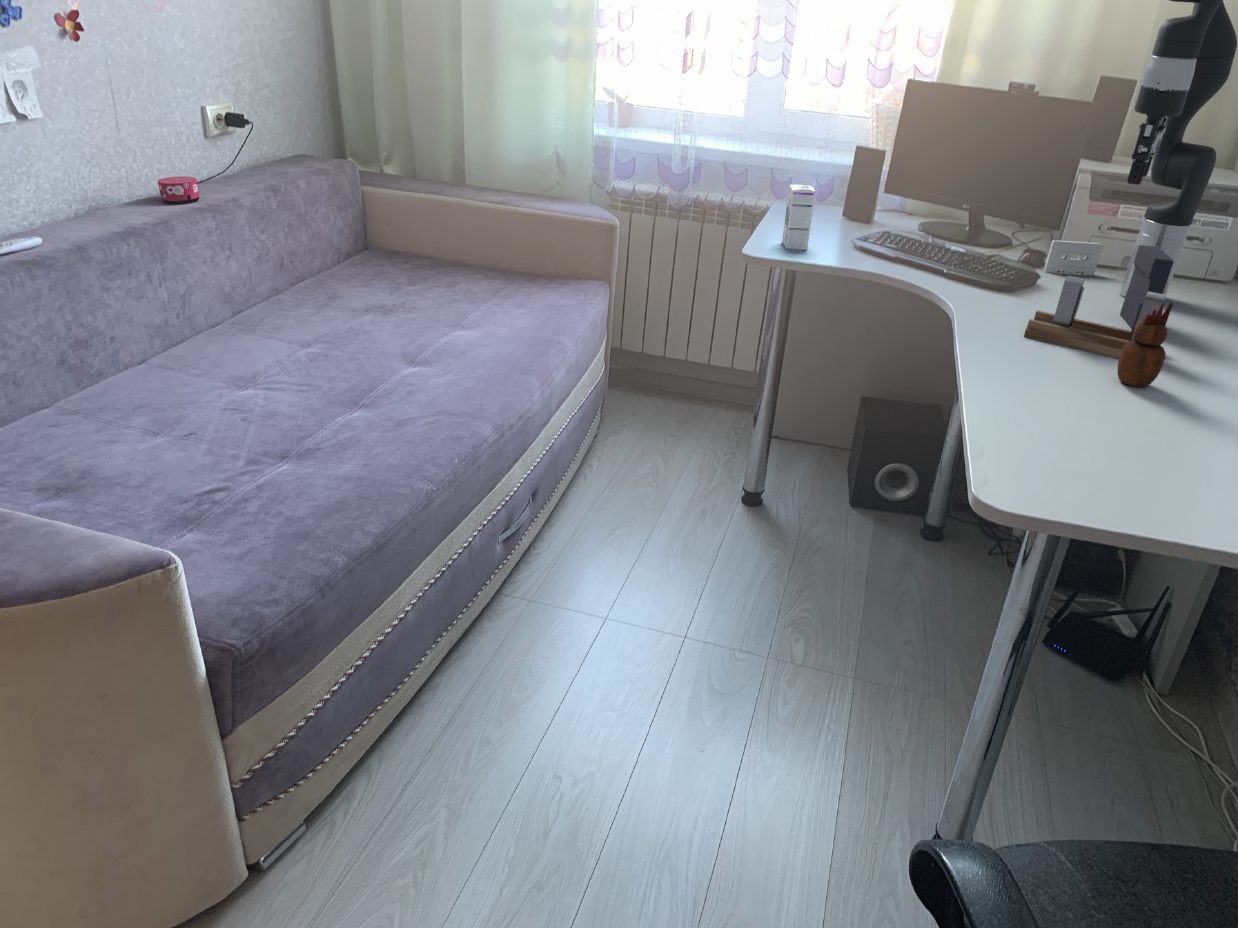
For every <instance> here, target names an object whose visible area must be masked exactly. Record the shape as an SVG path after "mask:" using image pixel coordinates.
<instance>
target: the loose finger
mask: <svg viewBox="0 0 1238 928" xmlns="http://www.w3.org/2000/svg"><path fill="white" fill-rule="evenodd" d="M1085 280H1086V278H1082V277H1079V276H1072V275H1067V276H1066V278H1065V279H1064V282H1063V284H1062V285H1063V286H1062V288H1061V293H1060V296H1059V299H1058V303H1057V306H1056V309H1055V313H1054V314H1055V315H1054V319H1053V322H1052V324H1055V325H1060V326H1064V327H1069V328H1070V327H1071V326H1072V324H1073V323H1074V321H1075V319H1076V316H1077V313H1078V310H1079V308H1080V304H1081V300H1082V297H1083V294H1084V292H1085V286H1084V283H1085Z"/></svg>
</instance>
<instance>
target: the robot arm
mask: <svg viewBox="0 0 1238 928" xmlns="http://www.w3.org/2000/svg"><path fill="white" fill-rule="evenodd" d="M1169 1H1170V2H1174V3H1192V4H1193V8H1192V13H1191V14H1190V15H1187V16H1182V17H1181V16H1179V17H1171V18H1167V19H1165V20H1164V21H1163V22H1162V23H1161V24H1160V26H1159V30H1158V31H1157V32H1158V33H1157V35H1156V39H1155V41H1154V46H1153V49H1152V51H1151V56H1150V58H1149V61H1148V64H1147V66H1146V68H1145V70H1144V74H1143V78H1142V82H1141V85H1140V87H1139V91H1138V96H1137V99H1136V102H1135V105H1134V111H1135V112H1136V113H1138V114H1141V115H1146V120H1145V121H1144V122H1141V124H1140V125H1139V126H1138V130H1137V138H1136V140H1135V143H1134V146H1133V149H1134V150H1133V153H1132V154H1131V162H1132V164H1131V167H1130V170H1129V173H1128V178H1127V180H1126V182H1127V184H1129V185H1136V186H1138V185H1141V183H1142V181H1143V178H1145V177H1147V175H1148V173H1149V170H1150V169H1151V170H1150V179H1151V181H1152V183H1153V184H1155V185H1157V186H1161V187H1166V188H1171V189H1176V190H1180V193H1179V195H1178V197H1177V198H1175V199H1171V200H1169V201H1168V200H1167V201H1161V202H1154V203H1150V204H1149V205H1148V206H1147V208H1146V210H1145V213H1144V216H1143V219H1142V222H1141V226H1140V228H1139V232H1138V235H1137V238H1136V242H1135V244H1134V248H1133V251H1132V253H1131V257H1130V260H1129V262H1128V266H1127V269H1126V271H1125V275H1124V278H1123V281H1122V284H1121V287H1120V290H1119V295H1120V296H1122V297H1124V298H1125V297H1126V294H1127V291H1128V288H1129V285H1130V281H1131V278H1132V275H1133V272H1134V269H1135V265H1134V260H1135V256H1136V253H1137V250H1138V247H1139V245H1144V246H1154V247H1158V248H1159V249H1161V250H1162V251H1163V252H1164V253H1165V254H1166V255H1168V256H1169V257H1170V258H1171V259H1172V260H1173V262H1174V265H1173V268H1172V271H1171V274H1170V277H1169V280H1168V281H1167V282H1168V286H1167V289H1166V291H1165V294H1164V295H1165V298H1164V301H1163V303H1165V301H1166V296H1167V294H1168V292H1169V288H1170V286H1171V284H1172V281H1173V278H1174V275H1175V272H1176V269H1177V265H1178V263H1179V260H1180V258H1181V255H1182V252H1183V249H1184V246H1185V243H1186V241H1187V237H1188V235H1189V232H1190V228H1191V226H1192V223H1193V219H1194V218H1195V215H1196V213H1197V211H1198V210H1199V209H1198V208H1199V207H1200V204H1201V201H1202V199H1203V197H1204V193H1205V192H1206V191H1205V190H1206V189H1207V186H1208V184H1209V181H1210V179H1211V177H1212V174H1213V172H1214V169H1215V165H1216V162H1217V161H1216V160H1217V152H1216V149H1215V148H1213V147H1211V146H1208V145H1203V144H1202V145H1201V144H1198V143H1190V142H1184V140H1183V139H1184V134H1185V133H1186V130H1187V128H1188V125H1189V124H1190V122H1191V120H1192V119H1193V118H1194V116H1195V115H1196V114H1197V113H1198V112H1199V111H1200V109H1202V107H1203V106H1205V105H1206V104H1207V103H1208V102H1209V101H1210V100H1211V99H1212V98H1213V97H1214V96H1215V95H1216V94H1217V93H1218V92H1219V91H1220V90H1221V89H1222V88H1223V87H1224V85H1225V83H1226V82H1227V81H1228V78H1229V77H1230V73H1231V70H1232V67H1233V62H1234V59H1235V55H1236V51H1237V48H1238V38H1237V34H1236V31H1235V28H1234V25H1233V23H1232V21H1231V18H1230V15H1229V13H1228V11H1227V9H1226V6H1225V4H1224V0H1169ZM1151 163H1152V165H1151ZM1150 167H1151V168H1150Z"/></svg>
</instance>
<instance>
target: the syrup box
mask: <svg viewBox="0 0 1238 928" xmlns="http://www.w3.org/2000/svg"><path fill="white" fill-rule="evenodd" d="M815 196H816V190H815V189H814V188H813V186H812V185H807V184H789V187H788V194H787V202H786V210H785V216H784V225H783V231H782V232H783V233H782V240H781V242H782V245H783V247H784V249H787V250H788V249H789V250H797V251H798V250H799V251H801V250H802V251H807V250H808V246H809V241H810V233H811V226H812V219H813V210H814V204H815Z"/></svg>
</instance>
